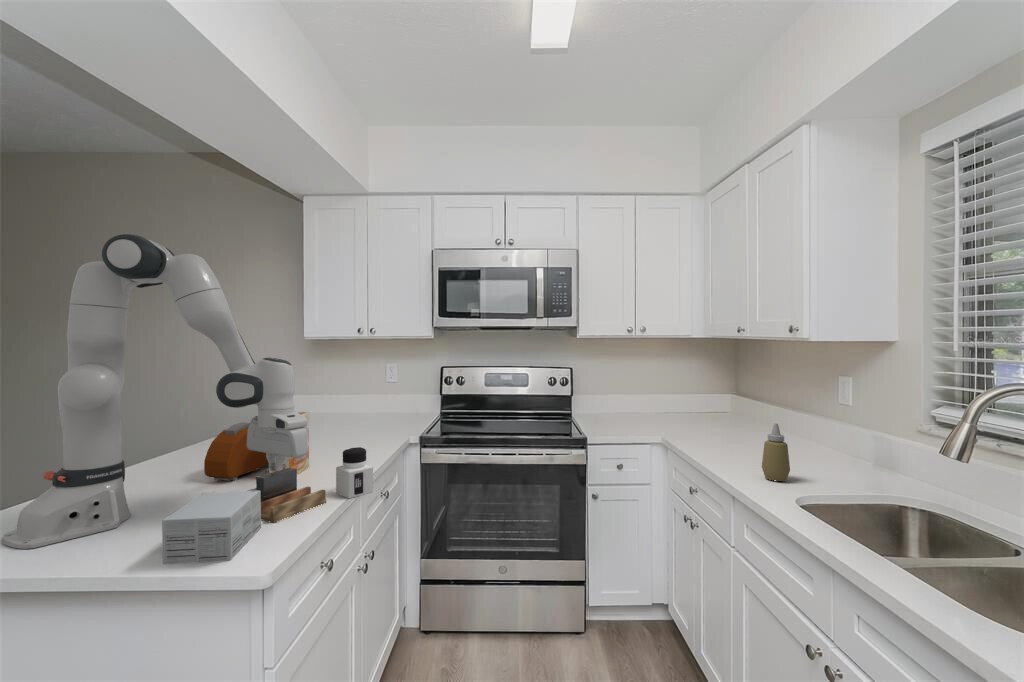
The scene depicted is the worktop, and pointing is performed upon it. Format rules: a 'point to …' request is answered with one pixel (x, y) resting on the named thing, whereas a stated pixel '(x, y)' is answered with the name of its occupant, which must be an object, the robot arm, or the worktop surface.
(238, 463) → the orange rounded block
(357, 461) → the container
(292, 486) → the block
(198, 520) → the supplement box
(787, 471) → the squeeze bottle
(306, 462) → the coffeecake box
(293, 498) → the rack
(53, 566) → the worktop surface
